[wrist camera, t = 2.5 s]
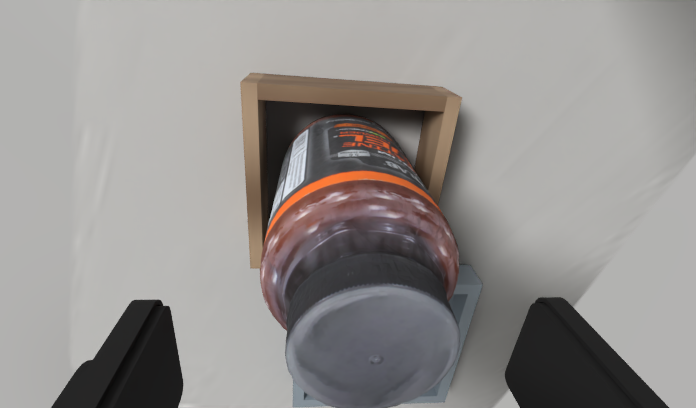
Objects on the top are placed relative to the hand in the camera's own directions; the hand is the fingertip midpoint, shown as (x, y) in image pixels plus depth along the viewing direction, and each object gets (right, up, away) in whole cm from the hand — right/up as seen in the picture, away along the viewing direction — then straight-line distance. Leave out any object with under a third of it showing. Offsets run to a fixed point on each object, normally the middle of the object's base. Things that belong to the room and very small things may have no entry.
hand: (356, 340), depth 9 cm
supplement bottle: (-1, +5, +9) cm, 10 cm away
